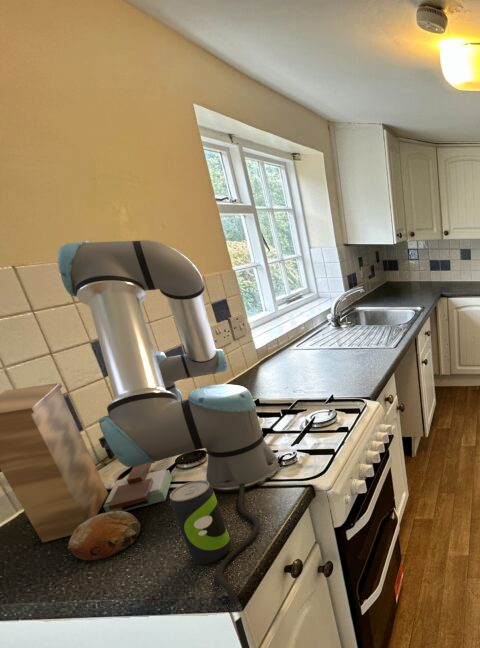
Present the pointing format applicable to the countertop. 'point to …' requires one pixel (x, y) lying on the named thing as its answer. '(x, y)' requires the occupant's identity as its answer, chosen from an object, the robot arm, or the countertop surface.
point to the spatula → (133, 488)
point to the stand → (48, 461)
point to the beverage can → (200, 521)
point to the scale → (155, 495)
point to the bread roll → (104, 535)
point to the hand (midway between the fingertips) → (144, 446)
